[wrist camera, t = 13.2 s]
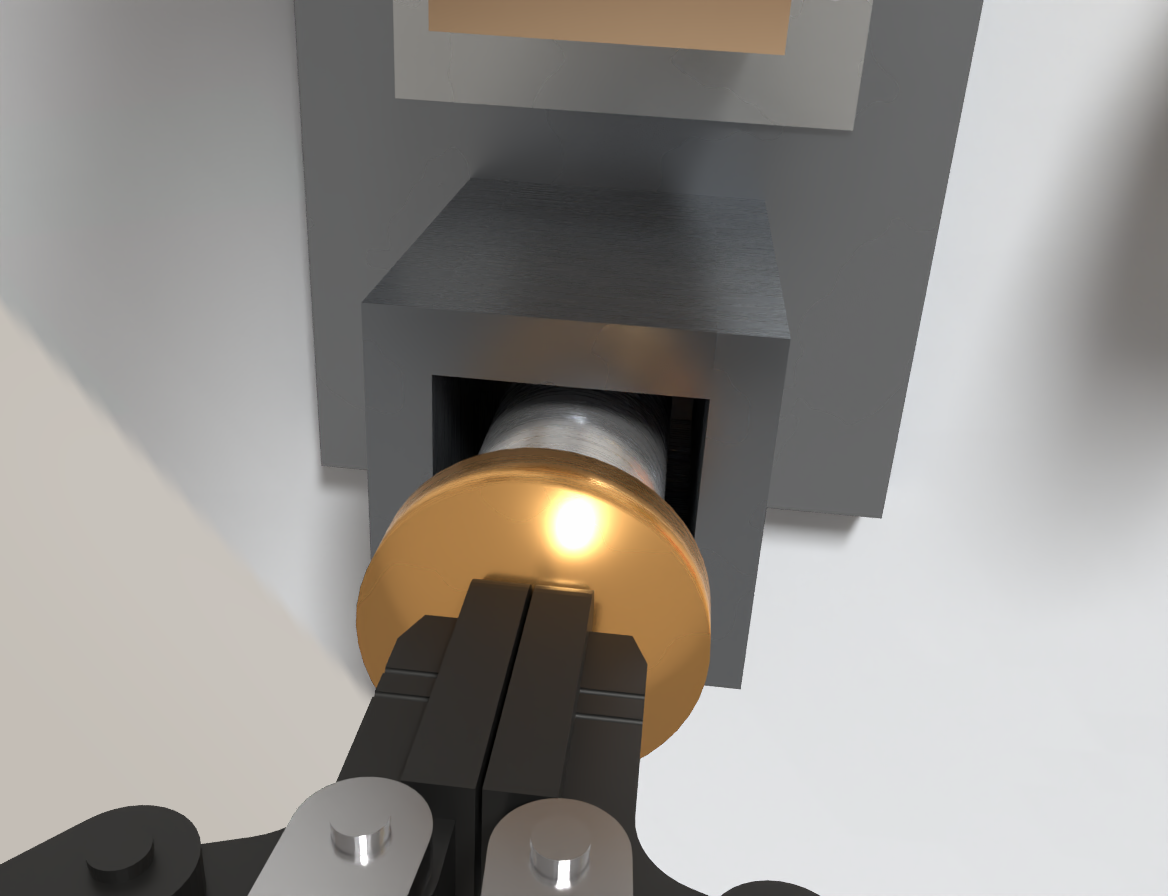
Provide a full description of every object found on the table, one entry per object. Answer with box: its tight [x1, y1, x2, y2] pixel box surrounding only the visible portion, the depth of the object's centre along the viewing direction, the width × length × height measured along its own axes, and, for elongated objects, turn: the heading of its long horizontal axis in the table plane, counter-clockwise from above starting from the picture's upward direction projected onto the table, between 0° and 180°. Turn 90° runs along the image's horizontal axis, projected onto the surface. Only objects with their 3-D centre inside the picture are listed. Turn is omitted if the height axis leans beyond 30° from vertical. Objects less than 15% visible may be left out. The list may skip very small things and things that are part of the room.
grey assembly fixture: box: [294, 0, 983, 689], centre depth 19 cm, size 18×13×9 cm
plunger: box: [356, 382, 711, 758], centre depth 19 cm, size 4×4×11 cm
